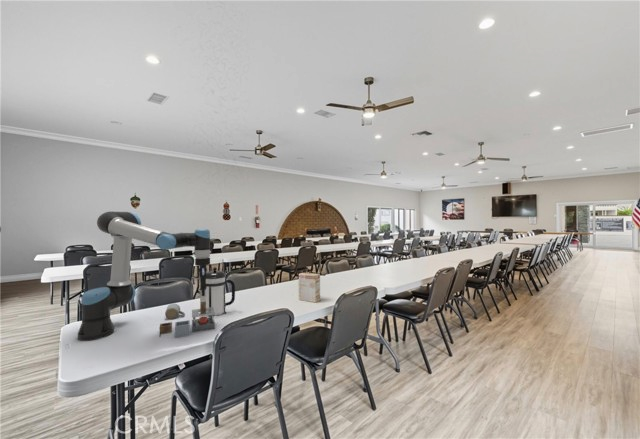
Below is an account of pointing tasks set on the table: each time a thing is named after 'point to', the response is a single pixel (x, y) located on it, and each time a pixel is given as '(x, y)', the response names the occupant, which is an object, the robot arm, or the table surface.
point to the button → (202, 319)
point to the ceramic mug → (173, 311)
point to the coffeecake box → (309, 287)
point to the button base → (203, 326)
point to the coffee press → (217, 291)
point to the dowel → (202, 303)
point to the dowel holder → (165, 328)
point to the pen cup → (182, 328)
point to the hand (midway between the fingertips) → (203, 300)
